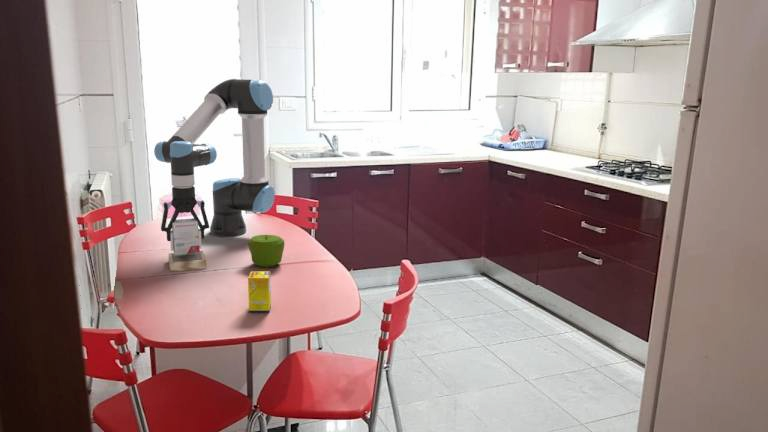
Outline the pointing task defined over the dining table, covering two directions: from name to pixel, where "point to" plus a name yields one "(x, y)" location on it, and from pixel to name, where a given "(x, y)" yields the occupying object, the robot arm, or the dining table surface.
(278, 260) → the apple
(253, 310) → the supplement box
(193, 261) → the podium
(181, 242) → the ink box
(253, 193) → the robot arm
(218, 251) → the dining table surface
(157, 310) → the dining table surface
